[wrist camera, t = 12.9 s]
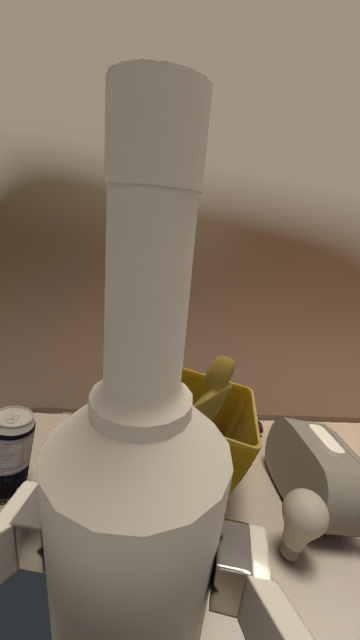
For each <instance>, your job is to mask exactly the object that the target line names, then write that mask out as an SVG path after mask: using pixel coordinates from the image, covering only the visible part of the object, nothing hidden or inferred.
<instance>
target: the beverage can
mask: <svg viewBox="0 0 360 640" xmlns="http://www.w3.org/2000/svg"><path fill="white" fill-rule="evenodd" d="M35 425H36V423H35V420H34V414H33V412H32V411H31V410H30V409H28V408H26V407H22V406H8V407H4V408H1V409H0V501H4V500H8V499H10V498H11V497H12V496H13V495H14V493H15V492H16V491H17V490H18V488H19V487H20V486H21V484H22V483H24V482H25V481H27V476H28V469H29V463H30V457H31V450H32V444H33V437H34V431H35Z"/></svg>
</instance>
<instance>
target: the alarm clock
mask: <svg viewBox="0 0 360 640" xmlns="http://www.w3.org/2000/svg"><path fill="white" fill-rule="evenodd" d="M265 458H266V465H267V467H268V470H269V472H270V474H271V477H272V479H273V481H274V483H275V485H276V486H277V488H278V490H279V492H280V494H281V496H282V498H283V500H284V498H285V497H286V495H287V494H288V493H289V492H290V491H292V490H294V489H298V488H305V489H309V490H311V491H313V492H315V493H316V494H318V495H319V496H320V497H321V498H322V500H323V501H324V502H325V504H326V506H327V509H328V512H329V525H328V528H327V530H326V532H325V533H324V534H331V535H342V536H352V537H360V458H359V456H358V455H357V454H356V453H355V452H354V451H353V450H352V449H351V448H350V447H349V446H348V445H347V444H346V443H345V442H344V441H343V440H342V439H341V438H340V437H339V436H338V435H337V433H336V432H334V431H333V430H332V429H331V428H329V427H328V426H327V425H325V424H320V423H314V422H308V421H302V420H296V419H290V418H278V419H276V420H275V422H274V423H273V425H272V426H271V429H270V431H269V434H268V437H267V441H266V447H265Z"/></svg>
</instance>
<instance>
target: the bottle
mask: <svg viewBox="0 0 360 640" xmlns="http://www.w3.org/2000/svg"><path fill="white" fill-rule="evenodd" d="M212 89H213V84H212V83H211V82H210V80H209V79H208V78H207V77H206V76H205V75H203V74H201V73H199V72H197V71H195V70H193V69H191V68H189V67H185V66H182V65H178V64H174V63H170V62H166V61H156V60H145V59H141V60H131V61H122V62H120V63H117V64H115V65H113V66H110V67H109V69H108V71H107V73H106V93H105V94H106V95H105V98H106V99H105V169H104V171H105V172H104V183H106V184H107V215H106V216H107V217H106V265H105V266H106V268H105V316H104V369H103V370H104V371H103V372H104V373H103V380H101V381H100V382H98V383H97V384H95V385H94V387H93V388H92V390H91V392H90V394H89V402H88V404H86V405H85V406H83V407H82V408H80V409H79V410H78V411H76V412H75V413H73V414H72V415H71V416H69V417H68V418H67V419H65V420H64V421H62V422H61V423H60V424H58V425H57V426H55V427H54V429H53V430H52V432H51V433H50V435H49V436H48V438H47V440H46V441H45V443H44V444H43V446H42V447H41V449H40V450H39V457H38V478H37V483H38V494H39V505H40V516H41V527H42V538H43V549H44V560H45V570H46V581H47V592H48V603H49V614H50V625H51V636H52V640H200V635H201V630H202V625H203V620H204V615H205V610H206V605H207V600H208V595H209V590H210V584H211V579H212V573H213V570H214V562H215V557H216V552H217V547H218V545H219V540H220V535H221V530H222V525H223V520H224V515H225V510H226V505H227V500H228V495H229V490H230V485H231V480H232V475H233V464H232V458H231V452H230V446H229V443H228V442H227V440H226V439H225V438H224V436H223V435H222V434H221V432H220V431H219V429H218V428H217V427H216V425H215V424H214V423H213V422H212V421H211V420H210V419H208V418H207V417H206V416H205V415H204V414H202V413H201V412H200V411H199V410H198V409H196V408H195V407H194V406H193V394H192V393H191V391H190V390H189V389H188V387H187V386H186V385H185V384H184V383H182V382H181V377H182V365H183V356H184V345H185V335H186V324H187V315H188V304H189V294H190V283H191V272H192V263H193V251H194V241H195V231H196V221H197V211H198V200H199V193H202V187H203V177H204V168H205V158H206V148H207V138H208V128H209V119H210V109H211V98H212Z"/></svg>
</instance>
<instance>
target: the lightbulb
mask: <svg viewBox="0 0 360 640" xmlns="http://www.w3.org/2000/svg"><path fill="white" fill-rule="evenodd" d="M282 514H283V519H284V532H283V535H282V538H283V540H282V543H281V546H280V551H281V554H282V555H283V557H284V558H286V559H287V560H289V561H296V560H297V558H298V556H299V554H300V553H301V552H302V551H303V550H304V548H305V546H306V545H307V544H308V543H309V542H310V541H312V540H314V539H317V538H318V537H320V536H322V535H323V534H324V533H325V532H326V530H327V528H328V525H329V512H328V509H327V506H326V504H325V502H324V501H323V500H322V498H321V497H320V496H319V495H318V494H316V493H315V492H313V491H311V490H309V489H305V488H298V489H294V490H292V491H290V492H289V493H288V494H287V495H286V497H285V498H284V501H283V504H282Z"/></svg>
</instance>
